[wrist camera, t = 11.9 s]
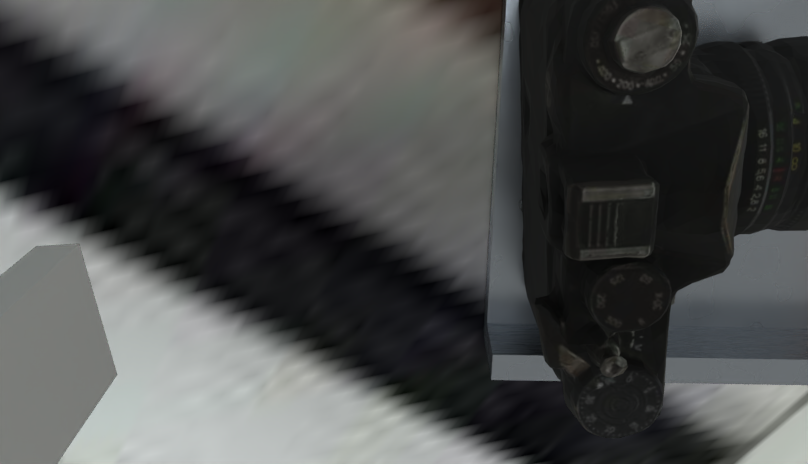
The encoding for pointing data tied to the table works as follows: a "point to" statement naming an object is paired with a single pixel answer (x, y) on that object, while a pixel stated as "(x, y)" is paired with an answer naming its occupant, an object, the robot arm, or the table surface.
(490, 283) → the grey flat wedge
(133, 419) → the table surface
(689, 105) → the camera
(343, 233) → the table surface
